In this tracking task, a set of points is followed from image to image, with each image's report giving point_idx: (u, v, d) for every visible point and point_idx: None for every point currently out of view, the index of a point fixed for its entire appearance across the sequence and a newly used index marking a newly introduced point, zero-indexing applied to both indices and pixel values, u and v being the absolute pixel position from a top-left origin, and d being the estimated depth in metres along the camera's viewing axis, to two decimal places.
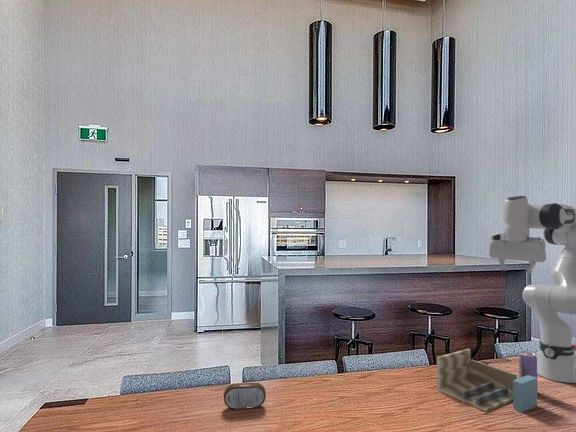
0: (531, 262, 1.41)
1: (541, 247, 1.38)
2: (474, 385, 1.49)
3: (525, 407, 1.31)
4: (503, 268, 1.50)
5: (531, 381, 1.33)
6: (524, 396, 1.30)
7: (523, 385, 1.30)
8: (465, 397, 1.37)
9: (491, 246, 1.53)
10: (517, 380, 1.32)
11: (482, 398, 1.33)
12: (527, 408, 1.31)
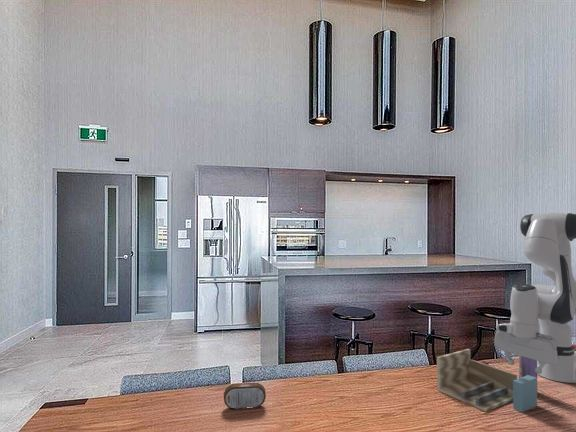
0: (541, 362, 1.28)
1: (552, 348, 1.25)
2: (474, 385, 1.49)
3: (525, 407, 1.31)
4: (509, 362, 1.37)
5: (531, 381, 1.33)
6: (524, 396, 1.30)
7: (523, 385, 1.30)
8: (465, 397, 1.37)
9: (496, 336, 1.40)
10: (517, 380, 1.32)
11: (482, 398, 1.33)
12: (527, 408, 1.31)
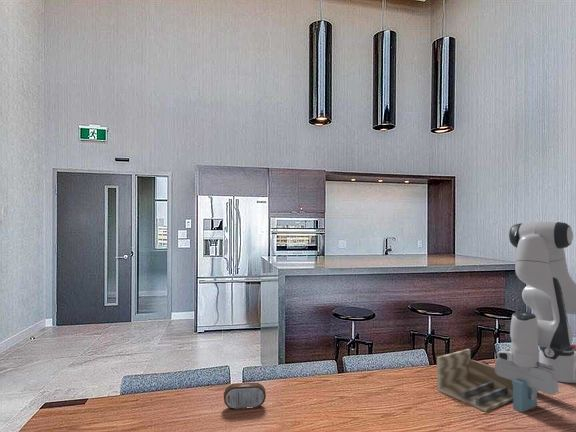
0: (534, 389, 1.30)
1: (552, 378, 1.25)
2: (474, 385, 1.49)
3: (525, 407, 1.31)
4: None
5: None
6: (524, 396, 1.30)
7: (523, 385, 1.30)
8: (465, 397, 1.37)
9: (497, 363, 1.40)
10: (517, 380, 1.32)
11: (482, 398, 1.33)
12: (527, 408, 1.31)
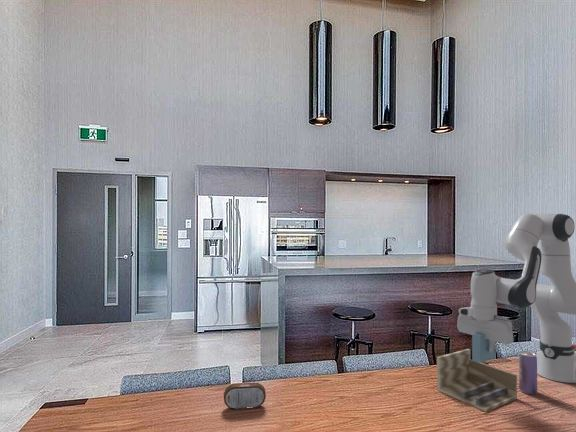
0: (491, 341, 1.36)
1: (507, 329, 1.31)
2: (474, 385, 1.49)
3: (483, 358, 1.37)
4: None
5: None
6: (482, 348, 1.37)
7: (481, 337, 1.36)
8: (465, 397, 1.37)
9: (459, 319, 1.46)
10: (476, 333, 1.39)
11: (482, 398, 1.33)
12: (485, 359, 1.38)
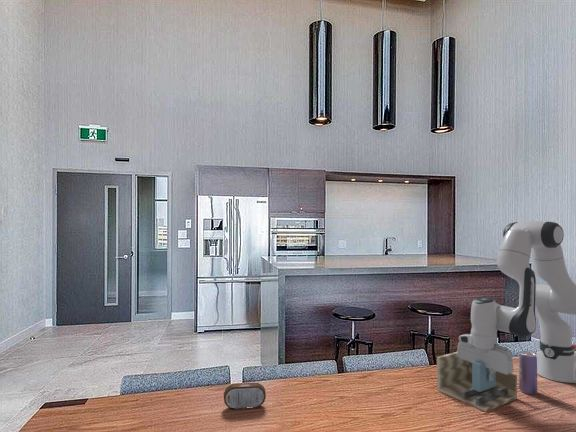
0: (491, 370, 1.36)
1: (507, 359, 1.31)
2: None
3: (483, 387, 1.37)
4: None
5: None
6: (482, 377, 1.36)
7: (481, 366, 1.36)
8: (465, 397, 1.37)
9: (459, 346, 1.46)
10: (476, 361, 1.38)
11: (482, 398, 1.33)
12: (485, 388, 1.37)
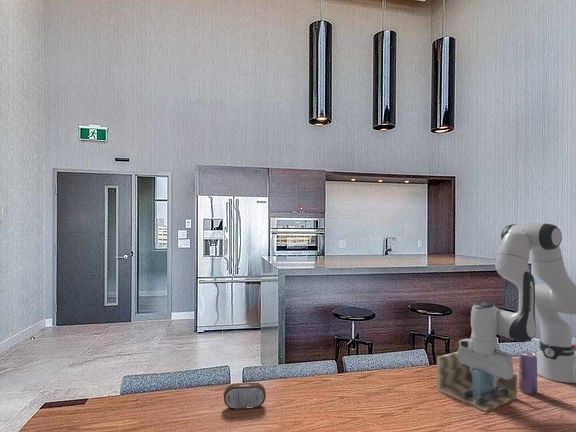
0: (495, 376, 1.35)
1: (507, 364, 1.31)
2: None
3: None
4: None
5: None
6: (482, 386, 1.36)
7: (481, 375, 1.36)
8: (465, 397, 1.37)
9: (459, 351, 1.46)
10: (476, 370, 1.38)
11: (482, 398, 1.33)
12: None
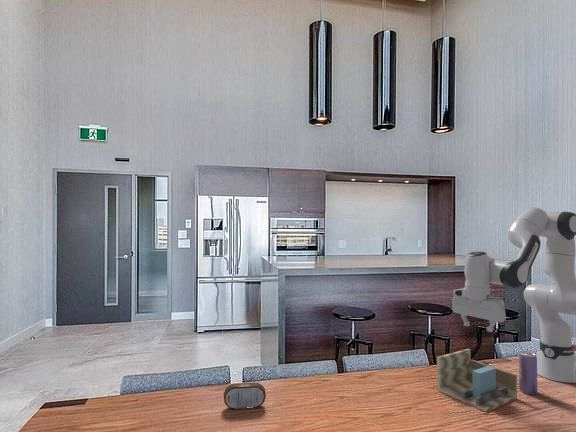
0: (491, 321, 1.39)
1: (500, 307, 1.36)
2: None
3: None
4: (465, 324, 1.49)
5: (490, 371, 1.39)
6: (482, 386, 1.36)
7: (481, 375, 1.36)
8: (465, 397, 1.37)
9: (454, 301, 1.51)
10: (476, 370, 1.38)
11: (482, 398, 1.33)
12: None
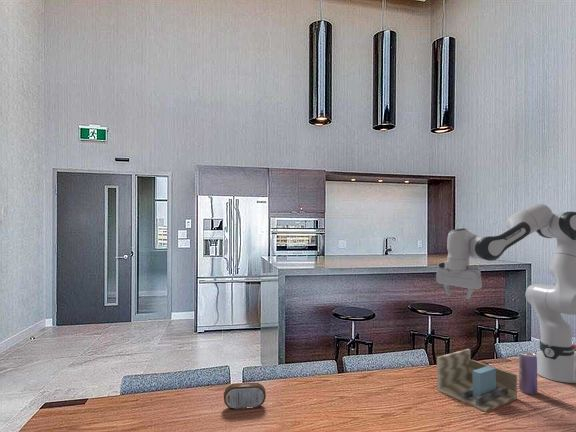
0: (469, 289, 1.57)
1: (476, 276, 1.54)
2: None
3: None
4: (447, 293, 1.66)
5: (490, 371, 1.39)
6: (482, 386, 1.36)
7: (481, 375, 1.36)
8: (465, 397, 1.37)
9: (437, 273, 1.69)
10: (476, 370, 1.38)
11: (482, 398, 1.33)
12: None
